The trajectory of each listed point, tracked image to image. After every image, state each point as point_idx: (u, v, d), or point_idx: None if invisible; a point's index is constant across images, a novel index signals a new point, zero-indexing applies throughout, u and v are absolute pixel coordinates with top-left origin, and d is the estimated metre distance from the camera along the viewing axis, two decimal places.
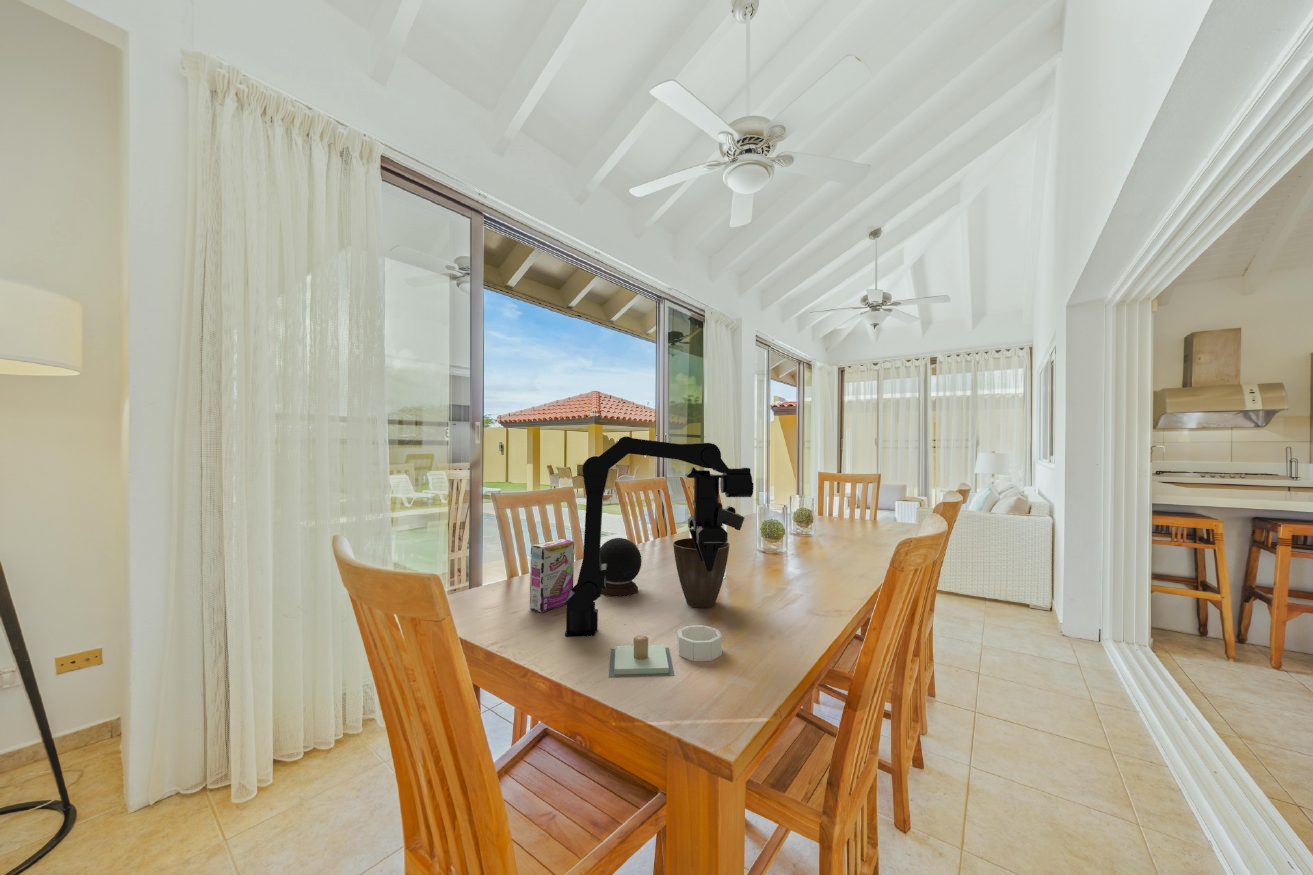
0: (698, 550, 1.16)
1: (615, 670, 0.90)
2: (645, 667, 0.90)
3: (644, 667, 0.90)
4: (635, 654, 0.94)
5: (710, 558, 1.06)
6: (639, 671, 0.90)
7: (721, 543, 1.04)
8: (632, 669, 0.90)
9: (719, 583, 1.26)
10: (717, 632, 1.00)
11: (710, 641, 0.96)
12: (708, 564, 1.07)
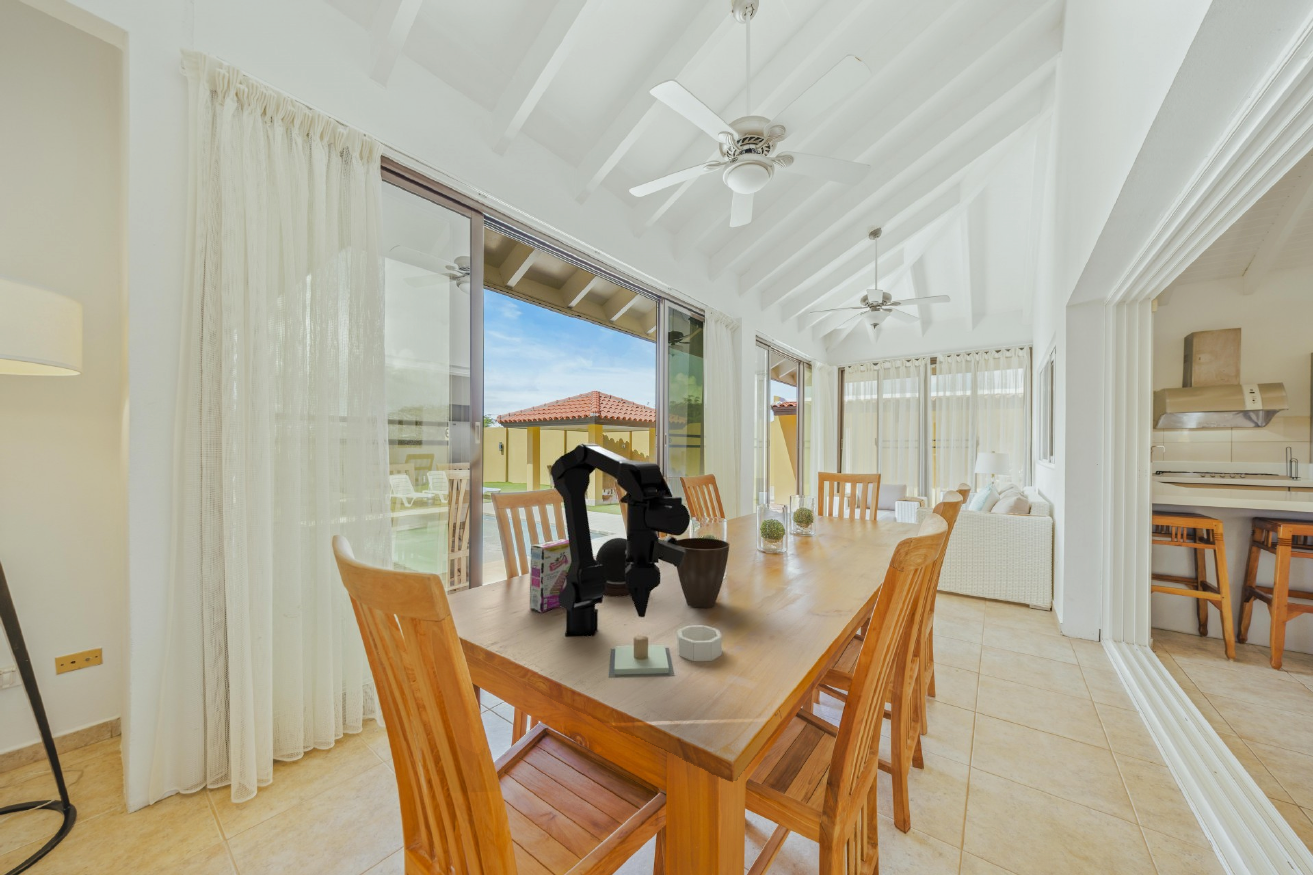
0: None
1: (615, 670, 0.90)
2: (645, 667, 0.90)
3: (644, 667, 0.90)
4: (635, 654, 0.94)
5: (642, 602, 0.90)
6: (639, 671, 0.90)
7: (653, 585, 0.87)
8: (632, 669, 0.90)
9: (719, 583, 1.26)
10: (717, 632, 1.00)
11: (710, 641, 0.96)
12: (640, 609, 0.90)
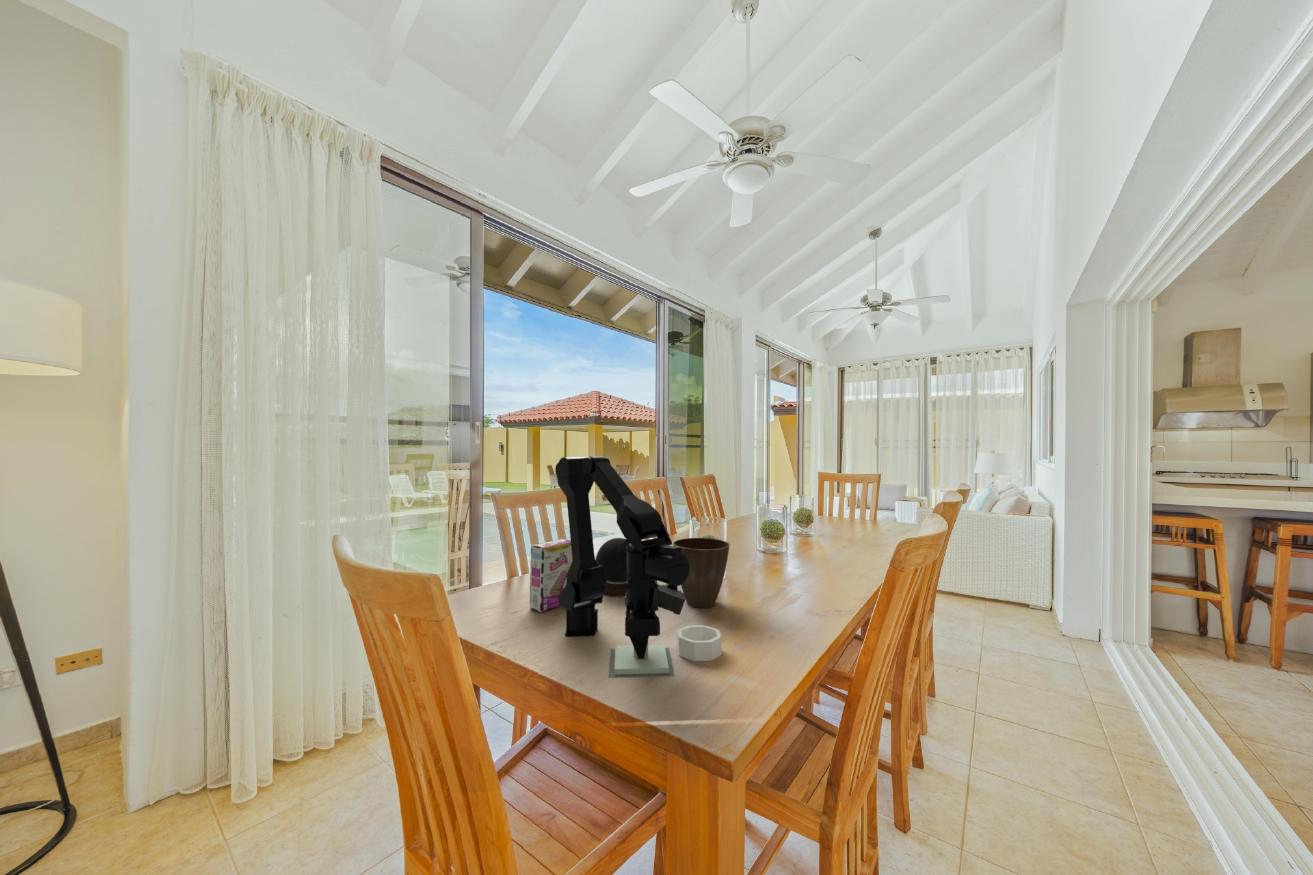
0: None
1: (615, 670, 0.90)
2: (645, 667, 0.90)
3: (644, 667, 0.90)
4: (635, 654, 0.94)
5: (641, 644, 0.92)
6: (639, 671, 0.90)
7: None
8: (632, 669, 0.90)
9: (719, 583, 1.26)
10: (717, 632, 1.00)
11: (710, 641, 0.96)
12: (639, 651, 0.93)
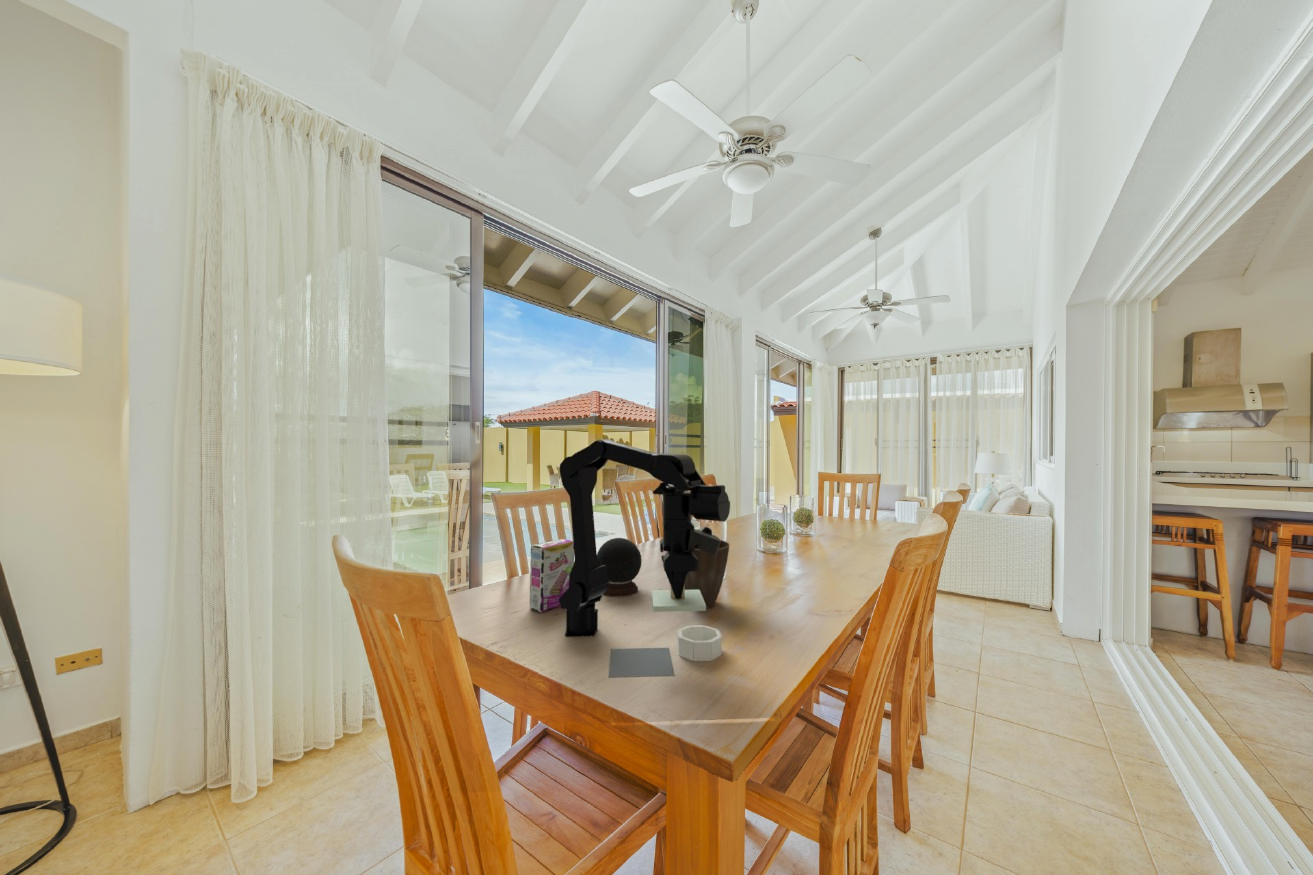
0: None
1: (654, 607, 0.92)
2: (683, 605, 0.93)
3: (682, 605, 0.93)
4: (672, 595, 0.97)
5: (678, 584, 0.95)
6: (677, 608, 0.93)
7: None
8: (670, 607, 0.93)
9: (719, 583, 1.26)
10: (717, 632, 1.00)
11: (710, 641, 0.96)
12: (676, 591, 0.95)
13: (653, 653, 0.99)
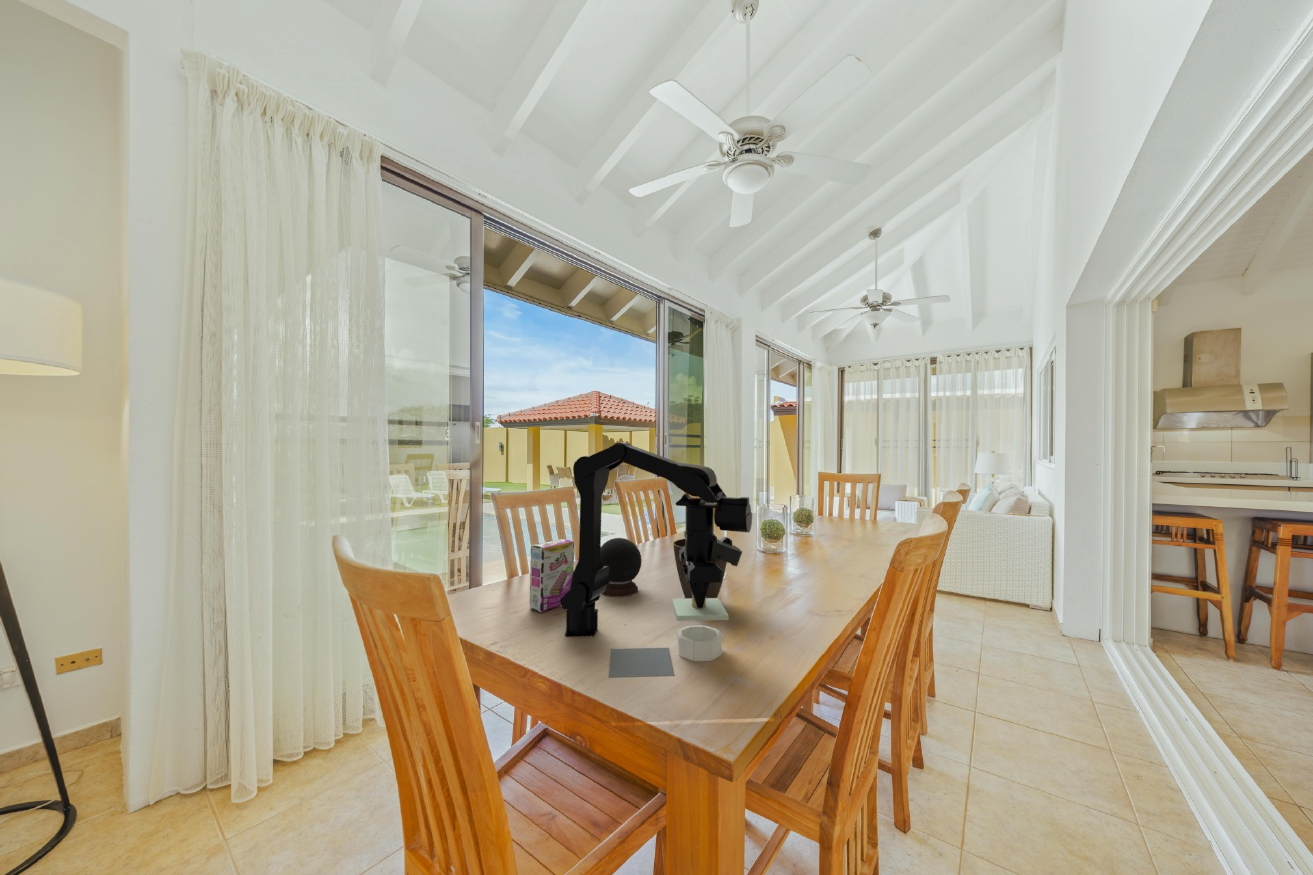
0: None
1: (678, 617, 0.95)
2: (706, 614, 0.95)
3: (705, 614, 0.95)
4: (694, 604, 0.99)
5: (701, 594, 0.97)
6: (700, 618, 0.95)
7: None
8: (693, 616, 0.95)
9: (719, 583, 1.26)
10: (717, 632, 1.00)
11: (710, 641, 0.96)
12: (698, 600, 0.98)
13: (653, 653, 0.99)
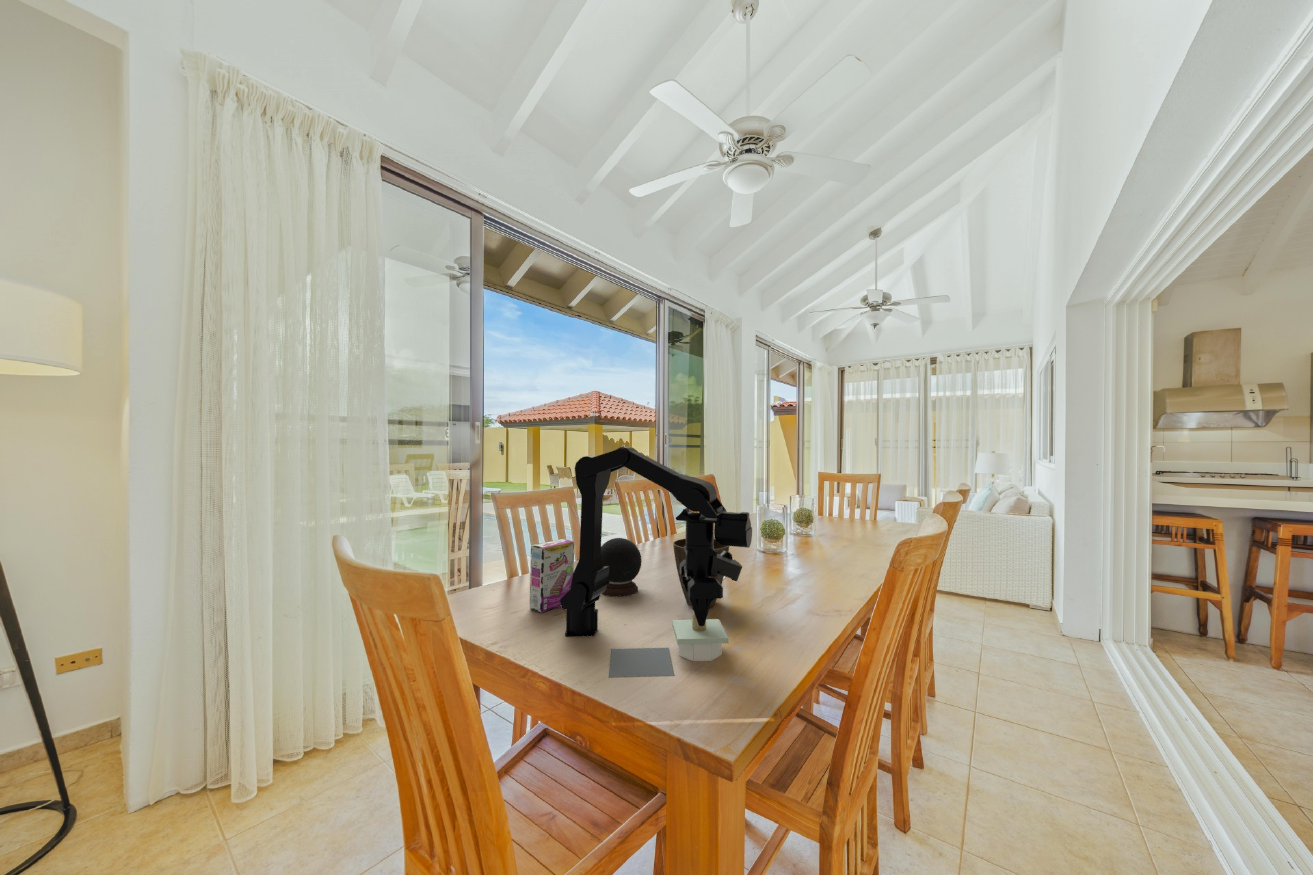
0: None
1: (678, 640, 0.95)
2: (706, 637, 0.95)
3: (705, 638, 0.95)
4: (694, 626, 0.99)
5: (702, 612, 0.96)
6: (701, 641, 0.95)
7: None
8: (694, 640, 0.95)
9: None
10: None
11: None
12: (700, 618, 0.96)
13: (653, 653, 0.99)
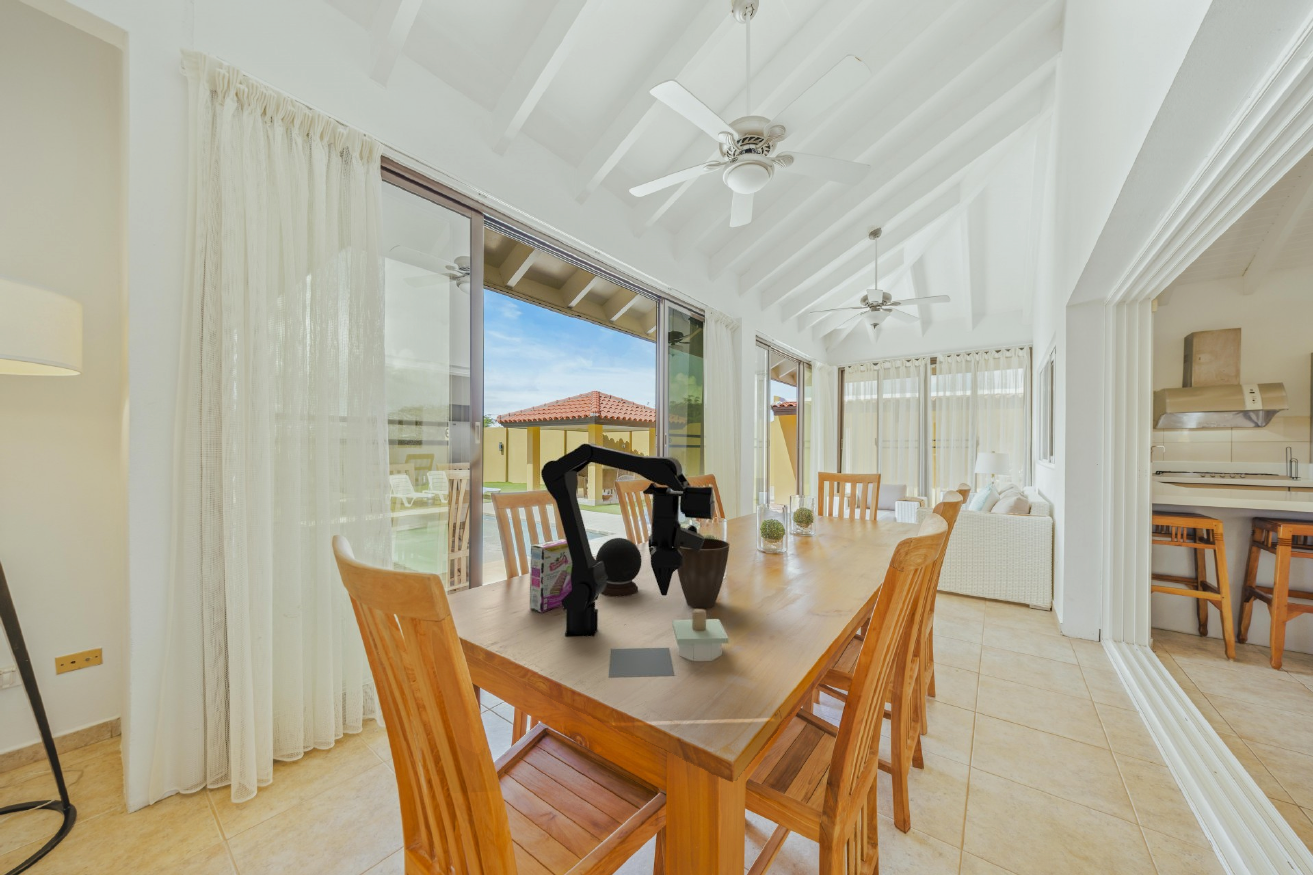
0: None
1: (678, 640, 0.95)
2: (706, 637, 0.95)
3: (705, 638, 0.95)
4: (694, 626, 0.99)
5: (664, 582, 1.00)
6: (701, 641, 0.95)
7: (676, 567, 0.97)
8: (694, 640, 0.95)
9: (719, 583, 1.26)
10: None
11: None
12: (662, 588, 1.00)
13: (653, 653, 0.99)
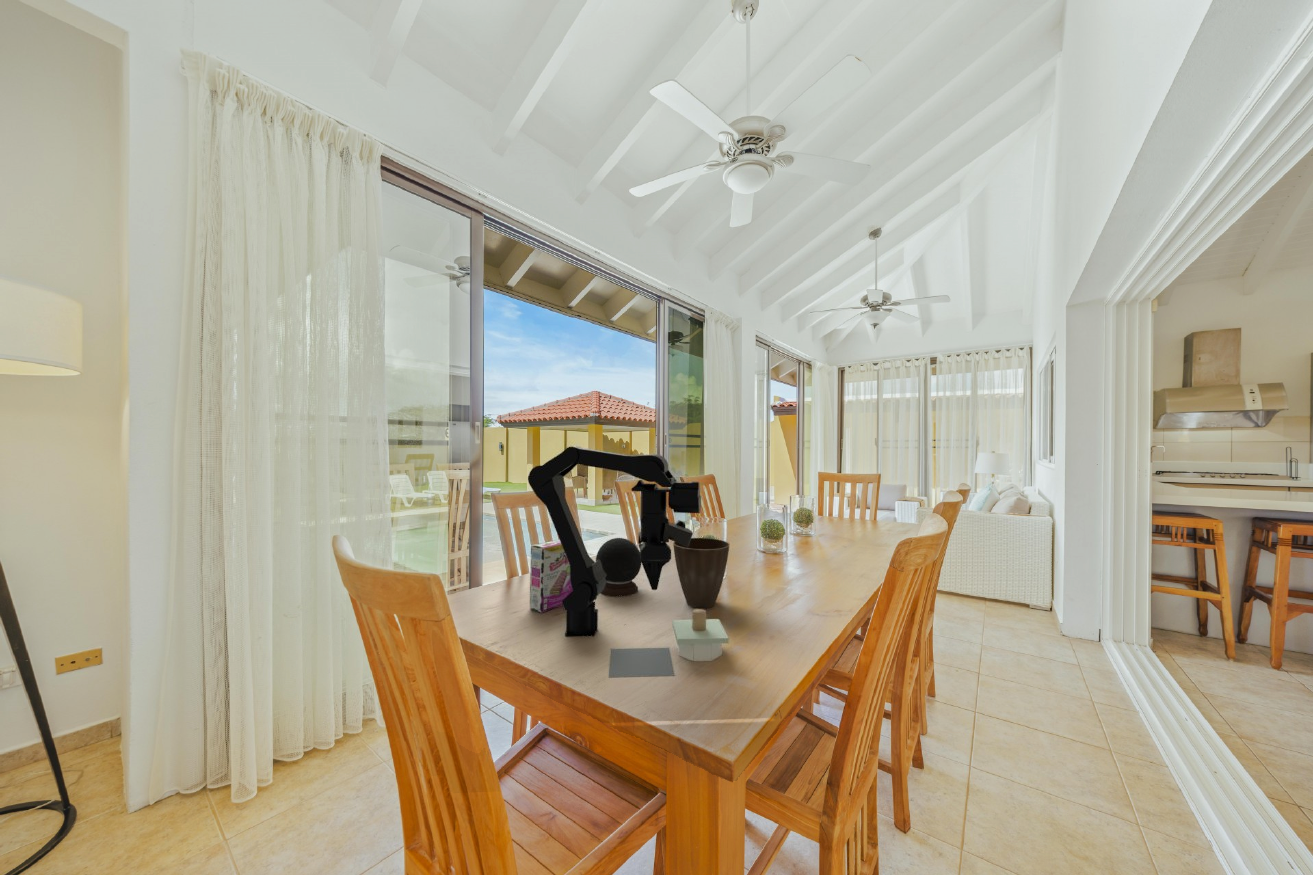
0: None
1: (678, 640, 0.95)
2: (706, 637, 0.95)
3: (705, 638, 0.95)
4: (694, 626, 0.99)
5: (654, 576, 1.02)
6: (701, 641, 0.95)
7: (665, 561, 0.99)
8: (694, 640, 0.95)
9: (719, 583, 1.26)
10: None
11: None
12: (653, 582, 1.02)
13: (653, 653, 0.99)
